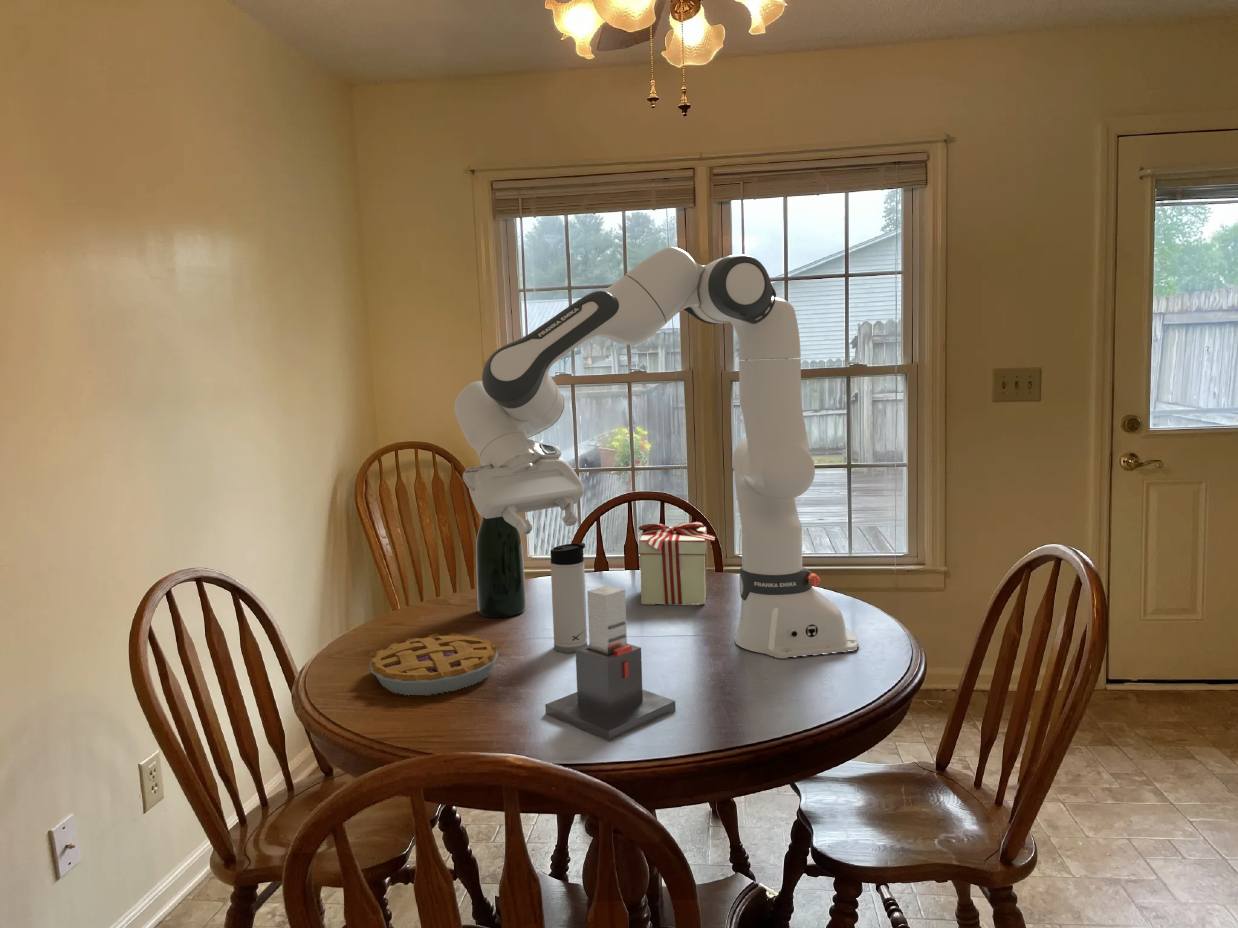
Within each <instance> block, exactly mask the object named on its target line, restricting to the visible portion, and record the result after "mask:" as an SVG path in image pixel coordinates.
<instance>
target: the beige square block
mask: <svg viewBox="0 0 1238 928" xmlns="http://www.w3.org/2000/svg"><path fill="white" fill-rule="evenodd" d="M626 604H627V603H626V590H625V589H623V588H619V587H616V586H615V587H614V586H611V585H603V586H600V587H598V588H597V587H596V588H592V589H589V590H587V614H588V615H587V617H588V618H587V620H588V641H589V642H588V643H589V644H588V645H589V646H590V651H592V652H595V653H598V654H601V655H604V656H607V657H608V656H611V655H614V653H613V650H615V649H617V648H620V647H623V646H626V645H627V644H628V635H627V610H626V609H627V607H626Z"/></svg>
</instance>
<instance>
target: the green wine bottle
mask: <svg viewBox="0 0 1238 928" xmlns="http://www.w3.org/2000/svg"><path fill="white" fill-rule="evenodd" d="M476 535H477V536H476V541H475V564H476V569H475V570H476V571H475V572H476V590H477V591H476V592H477V594H476V595H477V596H476V597H477V610H478V613H479V614H480V615H481V616H483V617H487V618H498V619H500V618H508V617H515V616H517V615H520V614H522V613H523V612H524V611H526V608H527V599H526V597H527V594H526V583H525V582H526V581H525V579H526V578H525V567H524V565H525V564H524V551H523V543H522V535H520V533H519V532H518V530H517V528H516V527H514V526H512V525H511V524H509V523H508V522H506V521H505V520H504V518H503V516H501V517H495V518H489V519H486V518H484V517H482V519H481V521H480V525H479V528H478V531H477V533H476Z"/></svg>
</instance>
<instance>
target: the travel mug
mask: <svg viewBox="0 0 1238 928" xmlns="http://www.w3.org/2000/svg"><path fill="white" fill-rule="evenodd" d="M585 548H586V543H584V542H581V543H580V542H577V543H575V542H574V543H567V544H562V545H557V546H554V547H553V548H552V549H550V577H551V579H550V580H551V601H552V625H553V626H552V627H553V628H552V629H553V646H554V647H553V648H554V649H555V651H557V652H559V653H562V654H563V653H565V654H570V653H571V654H573V653H575V654H576V649H578V648H581V647H584V646H587V645H588V639H587V638H588V631H587V630H588V629H587V628H588V625H587V608H586V607H587V604H586V603H587V602H586V601H587V600H586V580H585V577H586V576H585V575H586V573H585V559H584V550H585Z"/></svg>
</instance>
